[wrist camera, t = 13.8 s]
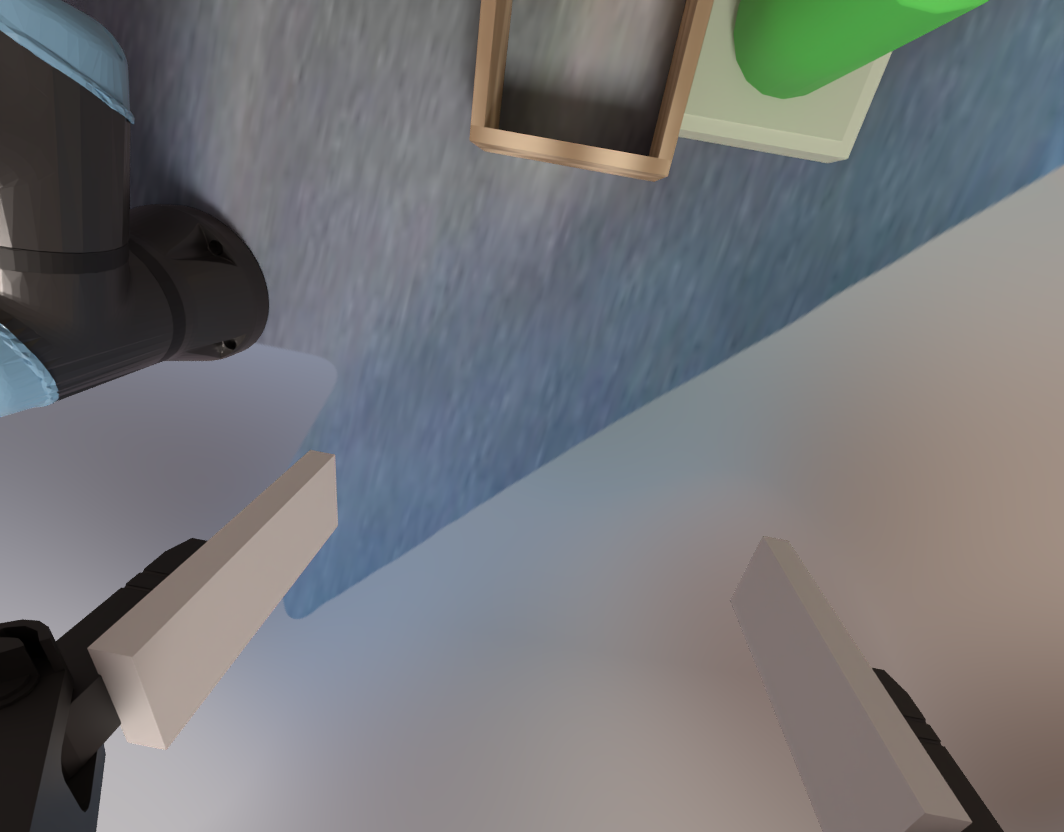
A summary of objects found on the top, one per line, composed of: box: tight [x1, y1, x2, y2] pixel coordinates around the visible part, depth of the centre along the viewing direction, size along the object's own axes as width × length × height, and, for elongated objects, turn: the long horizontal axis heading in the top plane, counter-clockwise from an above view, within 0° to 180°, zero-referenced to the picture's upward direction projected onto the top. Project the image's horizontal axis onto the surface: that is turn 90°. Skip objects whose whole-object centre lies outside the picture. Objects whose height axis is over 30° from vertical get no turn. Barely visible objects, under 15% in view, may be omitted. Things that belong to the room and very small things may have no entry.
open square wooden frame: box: [470, 0, 714, 182], centre depth 32 cm, size 15×15×6 cm
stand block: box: [678, 0, 892, 163], centre depth 31 cm, size 14×14×3 cm
